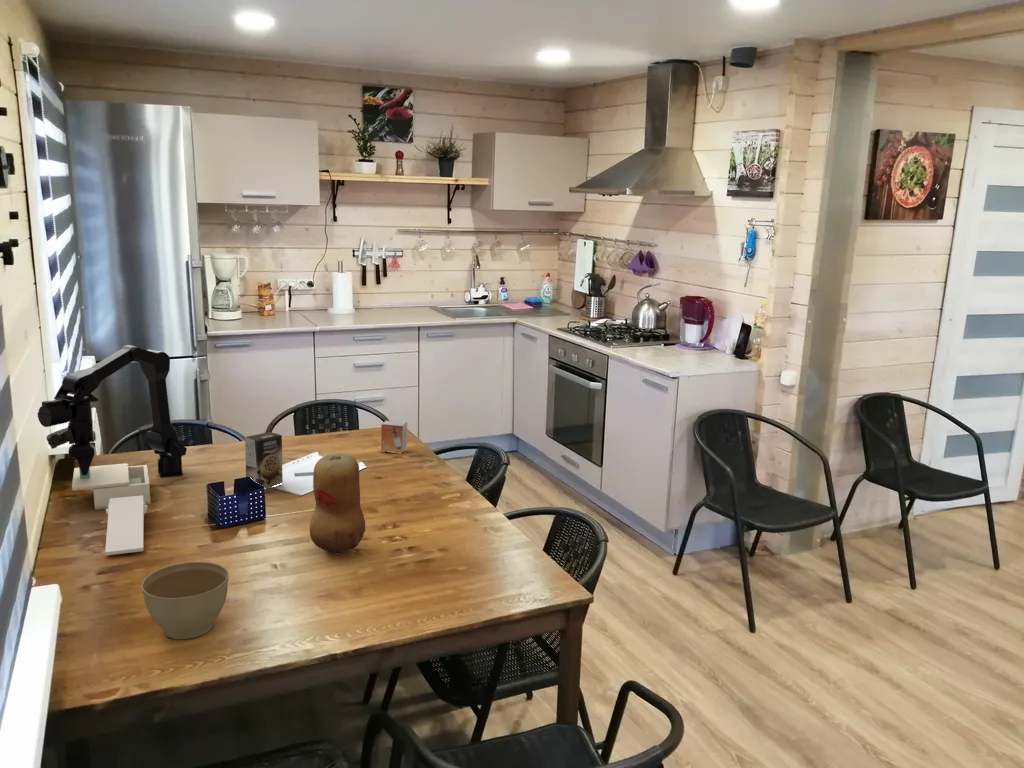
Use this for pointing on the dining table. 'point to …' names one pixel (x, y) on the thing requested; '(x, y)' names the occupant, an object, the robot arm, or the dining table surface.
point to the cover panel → (101, 477)
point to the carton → (125, 488)
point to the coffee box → (264, 458)
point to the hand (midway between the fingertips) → (84, 472)
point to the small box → (393, 436)
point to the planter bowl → (186, 597)
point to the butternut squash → (337, 504)
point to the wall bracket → (125, 525)
